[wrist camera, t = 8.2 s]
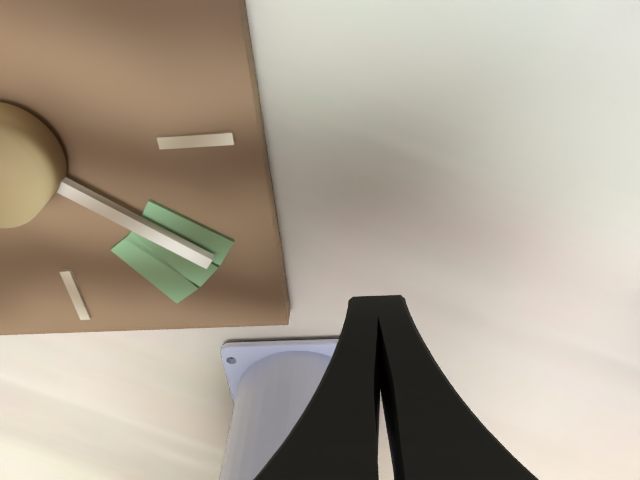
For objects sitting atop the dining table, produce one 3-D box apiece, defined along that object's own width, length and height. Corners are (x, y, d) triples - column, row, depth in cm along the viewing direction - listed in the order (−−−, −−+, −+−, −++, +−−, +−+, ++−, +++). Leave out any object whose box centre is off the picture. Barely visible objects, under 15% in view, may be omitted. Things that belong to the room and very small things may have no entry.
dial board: (290, 308, 28) (288, 327, 26) (-77, 322, 29) (-95, 341, 28) (217, -185, 17) (207, -191, 15) (-370, -122, 18) (-418, -122, 17)
